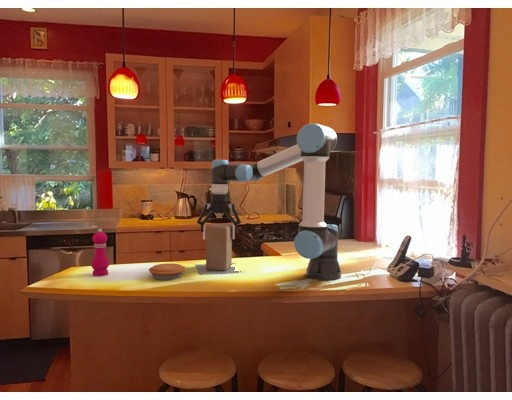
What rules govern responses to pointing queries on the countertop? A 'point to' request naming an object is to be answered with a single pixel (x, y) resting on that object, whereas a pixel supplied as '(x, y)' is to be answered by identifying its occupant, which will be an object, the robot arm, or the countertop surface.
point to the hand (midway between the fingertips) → (218, 239)
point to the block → (218, 247)
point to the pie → (167, 271)
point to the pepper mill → (100, 254)
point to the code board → (203, 270)
